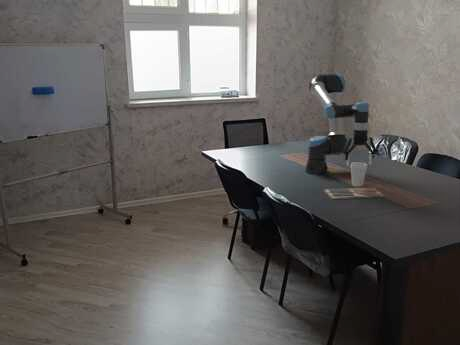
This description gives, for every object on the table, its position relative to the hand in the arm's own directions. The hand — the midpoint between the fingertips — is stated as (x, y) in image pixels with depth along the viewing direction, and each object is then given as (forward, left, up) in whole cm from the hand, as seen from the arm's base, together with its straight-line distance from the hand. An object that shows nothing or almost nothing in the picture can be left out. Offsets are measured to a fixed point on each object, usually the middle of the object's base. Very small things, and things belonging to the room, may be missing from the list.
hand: (359, 164), depth 257 cm
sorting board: (+16, -9, -13) cm, 22 cm away
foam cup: (0, 0, -13) cm, 13 cm away
